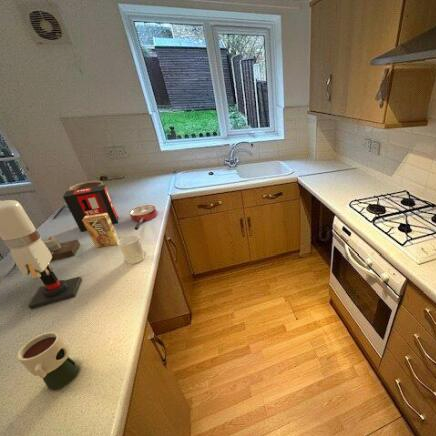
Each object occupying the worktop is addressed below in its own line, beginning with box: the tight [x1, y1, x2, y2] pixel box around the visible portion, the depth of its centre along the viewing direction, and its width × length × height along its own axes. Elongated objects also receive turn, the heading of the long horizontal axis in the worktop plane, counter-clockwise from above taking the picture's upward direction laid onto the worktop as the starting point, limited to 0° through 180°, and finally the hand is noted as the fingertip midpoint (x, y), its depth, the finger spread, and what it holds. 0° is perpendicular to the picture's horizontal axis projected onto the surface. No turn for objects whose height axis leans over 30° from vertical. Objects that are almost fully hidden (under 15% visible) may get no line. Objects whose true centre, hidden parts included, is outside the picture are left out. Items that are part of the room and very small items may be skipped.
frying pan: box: [129, 204, 158, 231], centre depth 130 cm, size 32×13×6 cm, turn 29°
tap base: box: [50, 239, 81, 262], centre depth 107 cm, size 14×10×3 cm
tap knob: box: [42, 236, 61, 252], centre depth 105 cm, size 4×4×5 cm
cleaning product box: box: [62, 184, 119, 233], centre depth 128 cm, size 16×9×20 cm, turn 123°
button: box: [44, 279, 61, 291], centre depth 85 cm, size 4×4×2 cm
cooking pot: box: [68, 180, 109, 193], centre depth 156 cm, size 25×19×12 cm
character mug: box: [16, 331, 80, 390], centre depth 58 cm, size 11×7×13 cm, turn 33°
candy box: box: [82, 213, 120, 249], centre depth 111 cm, size 9×4×15 cm, turn 110°
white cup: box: [116, 234, 145, 265], centre depth 101 cm, size 8×8×10 cm
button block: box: [28, 276, 83, 310], centre depth 86 cm, size 12×10×4 cm
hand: (51, 282), depth 84 cm, fingers closed
